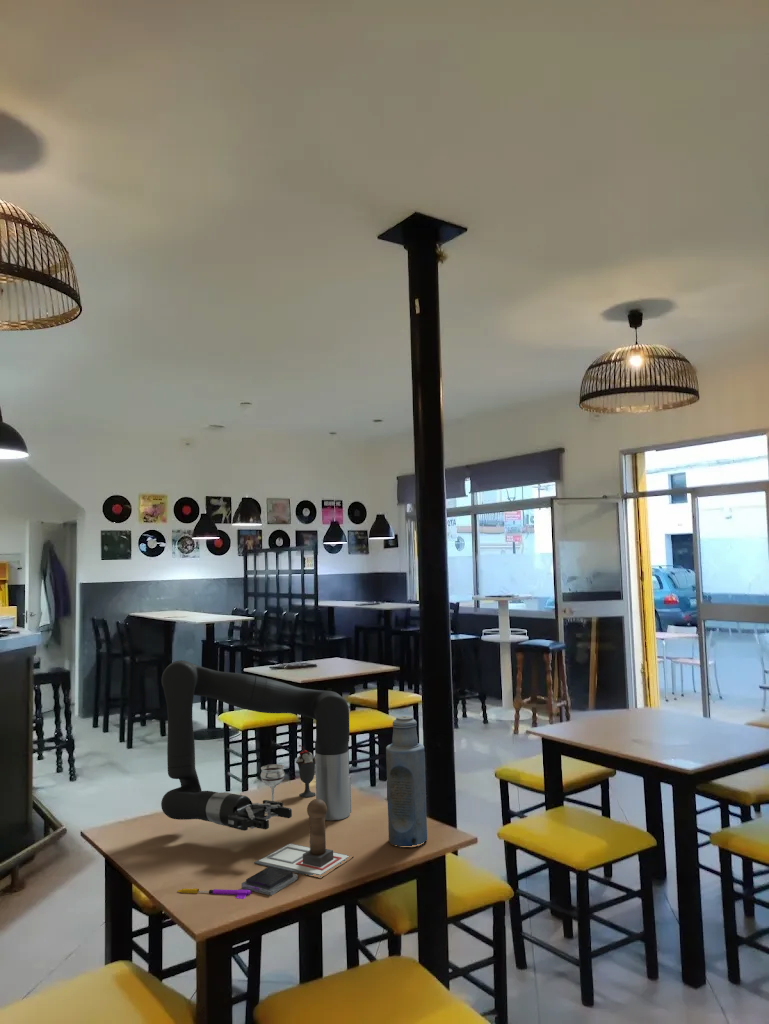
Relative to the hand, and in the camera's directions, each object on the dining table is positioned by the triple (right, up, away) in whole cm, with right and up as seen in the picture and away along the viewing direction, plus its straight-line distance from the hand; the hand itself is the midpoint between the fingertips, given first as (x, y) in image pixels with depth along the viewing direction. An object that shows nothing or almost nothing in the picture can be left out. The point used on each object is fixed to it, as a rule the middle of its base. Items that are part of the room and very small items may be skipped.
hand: (279, 818), depth 169 cm
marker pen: (-11, -7, -21) cm, 25 cm away
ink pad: (0, -7, -16) cm, 18 cm away
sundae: (+2, -13, +46) cm, 48 cm away
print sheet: (+6, -8, -4) cm, 11 cm away
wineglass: (-7, -12, +32) cm, 35 cm away
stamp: (+10, -7, -6) cm, 14 cm away
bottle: (+31, -8, +5) cm, 32 cm away
